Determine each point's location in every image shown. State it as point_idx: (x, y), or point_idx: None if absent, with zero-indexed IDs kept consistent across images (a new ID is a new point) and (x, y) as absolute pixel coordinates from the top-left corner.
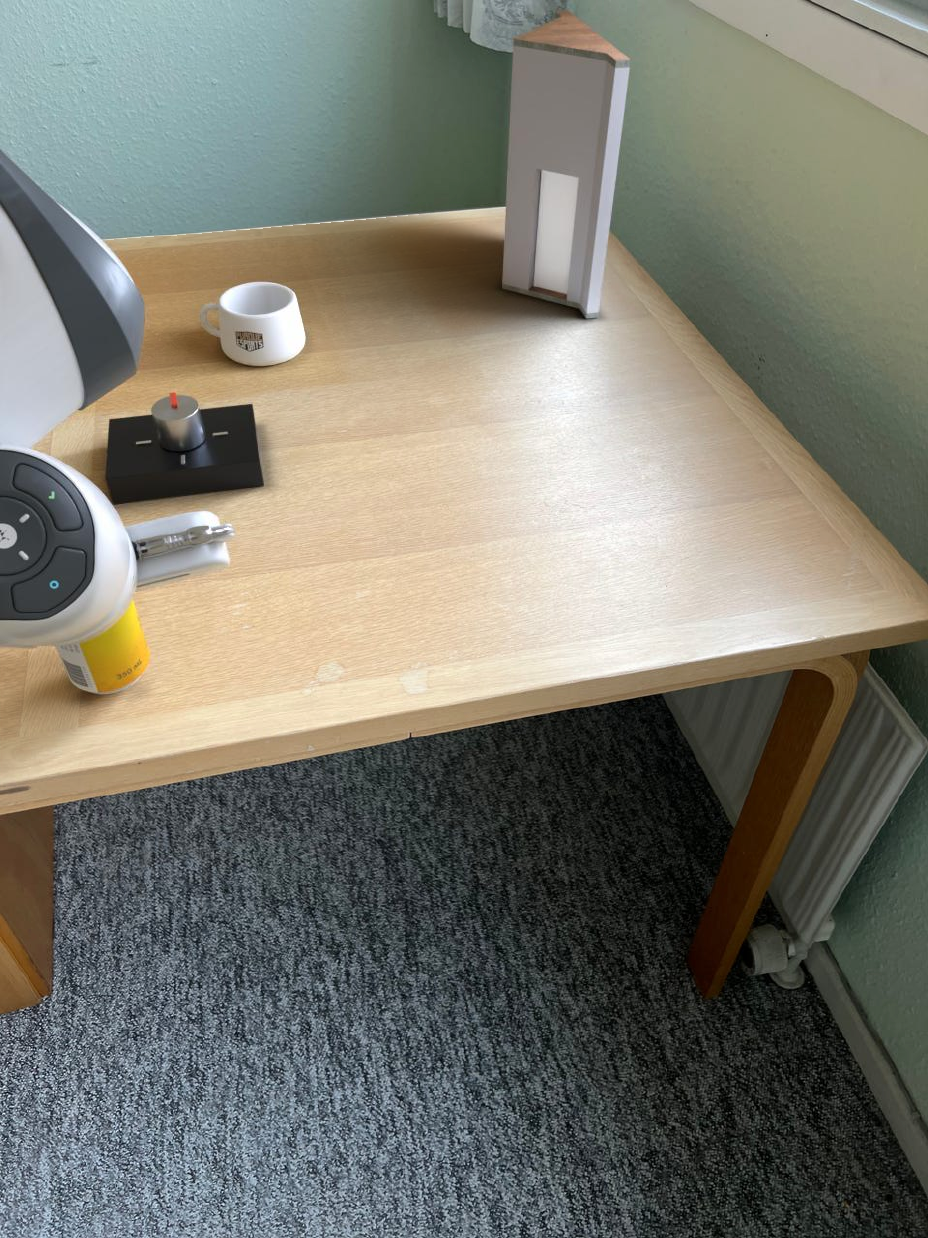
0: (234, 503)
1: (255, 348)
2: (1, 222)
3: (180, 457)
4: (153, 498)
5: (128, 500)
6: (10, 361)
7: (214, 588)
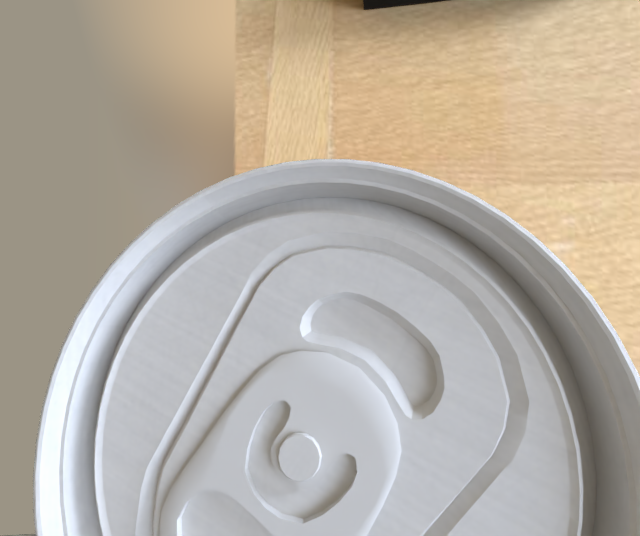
0: (549, 19)
1: None
2: None
3: None
4: (421, 1)
5: (385, 3)
6: None
7: (516, 200)
